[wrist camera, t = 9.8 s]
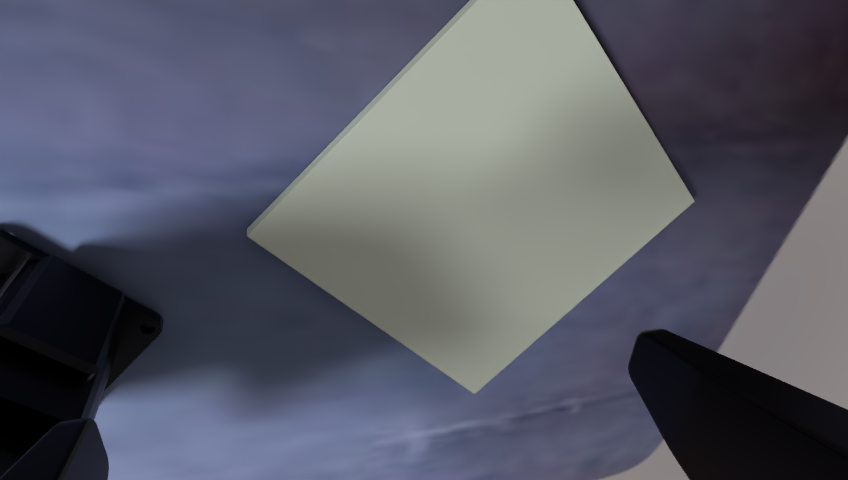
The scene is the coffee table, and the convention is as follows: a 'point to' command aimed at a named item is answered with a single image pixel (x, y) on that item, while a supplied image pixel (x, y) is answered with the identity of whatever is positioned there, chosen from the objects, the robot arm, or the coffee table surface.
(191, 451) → the coffee table surface
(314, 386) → the coffee table surface
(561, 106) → the sage mat
